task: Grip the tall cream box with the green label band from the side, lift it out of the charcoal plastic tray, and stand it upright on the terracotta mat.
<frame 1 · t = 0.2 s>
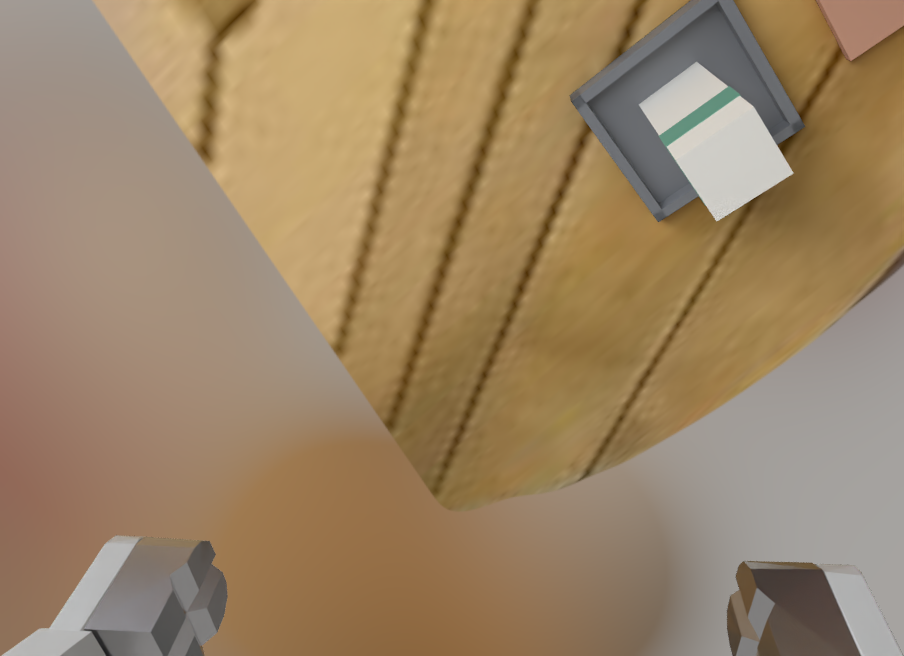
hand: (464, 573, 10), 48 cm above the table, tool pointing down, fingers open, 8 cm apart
labelled box: (683, 109, 51), point 1 cm above the table, touching parts tray
parts tray: (682, 107, 52), on the table
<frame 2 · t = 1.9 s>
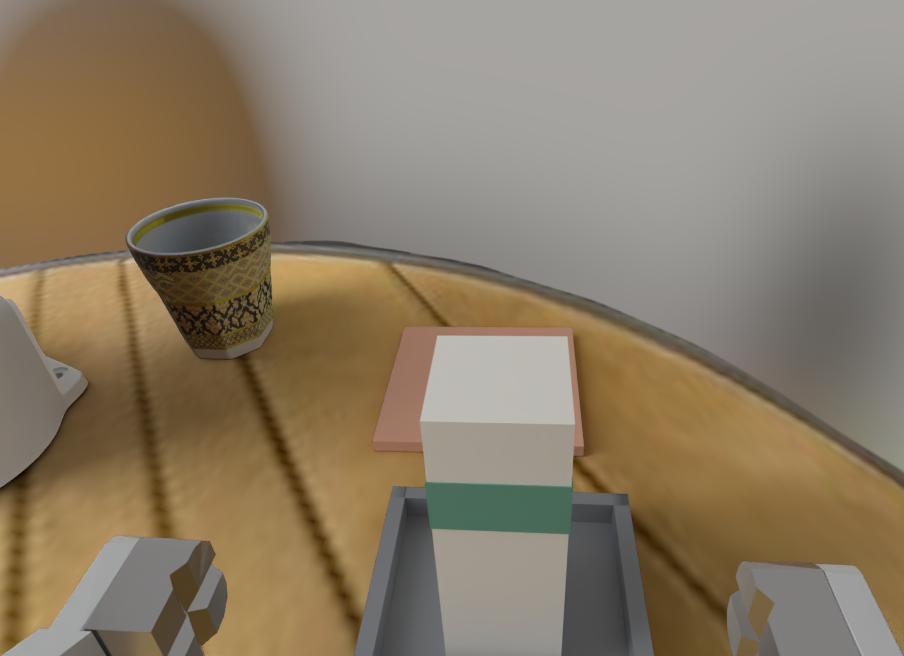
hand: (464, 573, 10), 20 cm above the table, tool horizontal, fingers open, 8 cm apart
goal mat: (482, 387, 46), on the table
labelled box: (504, 611, 31), point 1 cm above the table, touching parts tray
ceramic cup: (224, 331, 55), on the table
parts tray: (504, 619, 31), on the table
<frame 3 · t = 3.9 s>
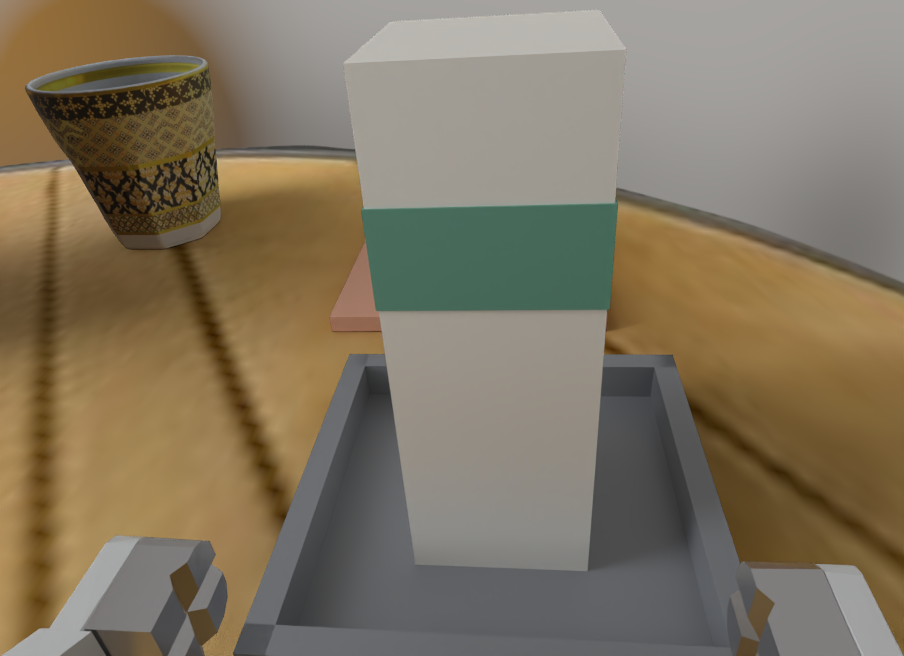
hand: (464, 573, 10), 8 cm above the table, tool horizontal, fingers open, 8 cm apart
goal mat: (474, 267, 36), on the table
labelled box: (502, 502, 21), point 1 cm above the table, touching parts tray
ceramic cup: (163, 225, 45), on the table
parts tray: (503, 515, 22), on the table
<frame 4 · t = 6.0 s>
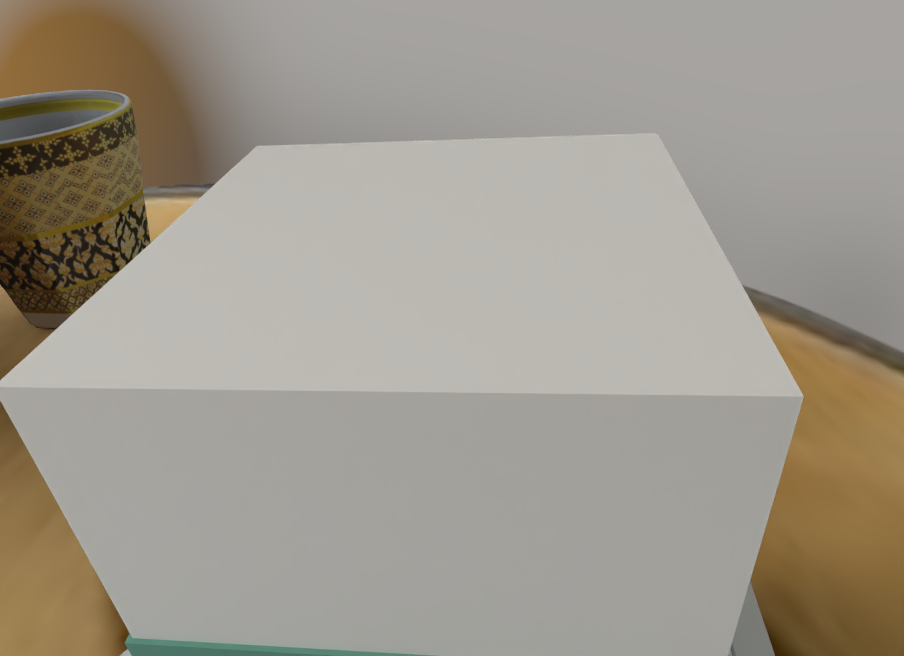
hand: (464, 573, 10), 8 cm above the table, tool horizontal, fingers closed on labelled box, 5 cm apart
ceramic cup: (88, 291, 38), on the table
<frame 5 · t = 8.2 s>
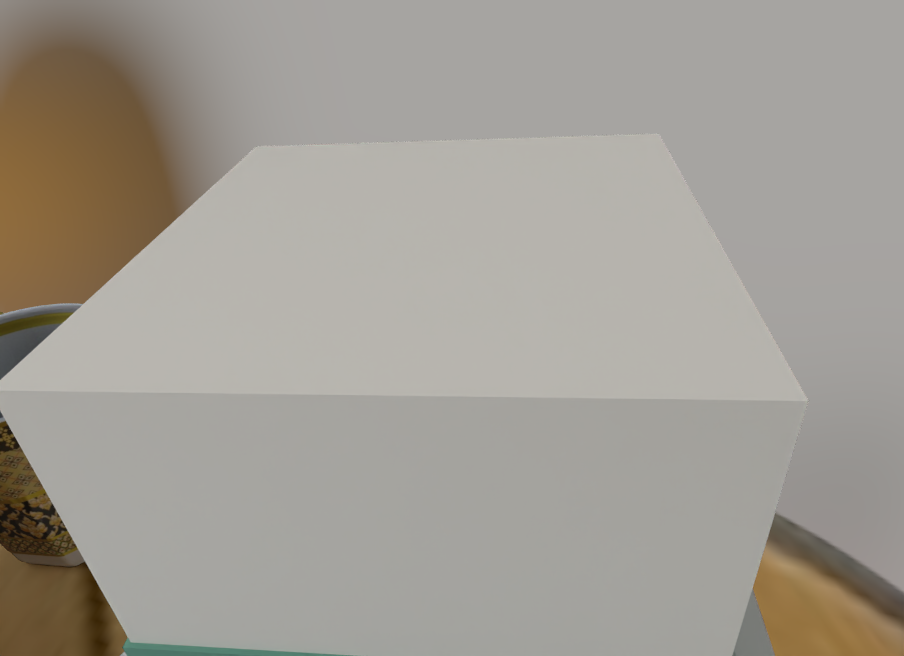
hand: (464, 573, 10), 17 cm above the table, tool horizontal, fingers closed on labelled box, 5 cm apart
ceramic cup: (81, 501, 35), on the table
when the fingers open (10 cm above the table, at t = 10.6 s): labelled box drops 1 cm, resting on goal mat.
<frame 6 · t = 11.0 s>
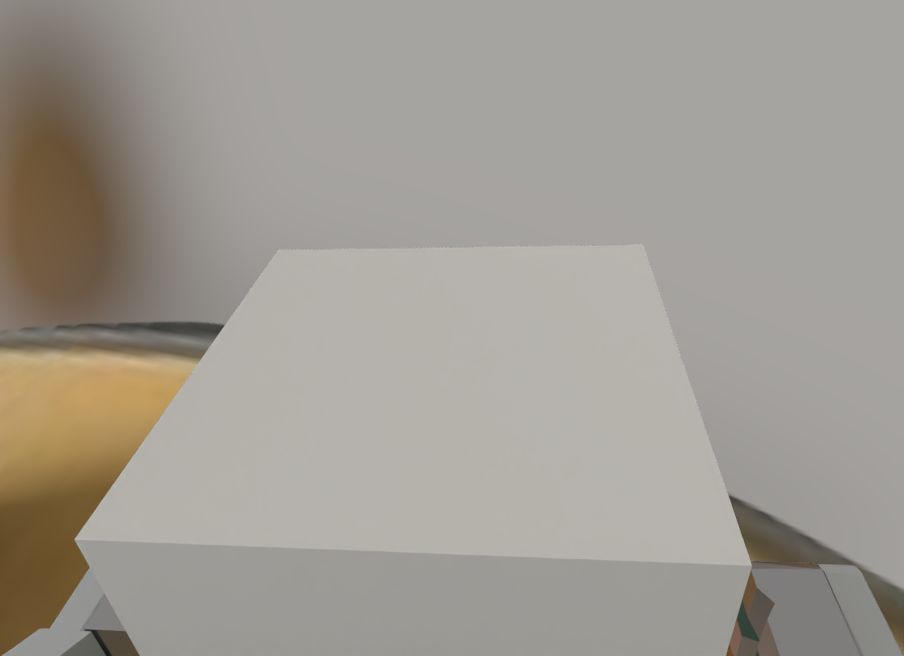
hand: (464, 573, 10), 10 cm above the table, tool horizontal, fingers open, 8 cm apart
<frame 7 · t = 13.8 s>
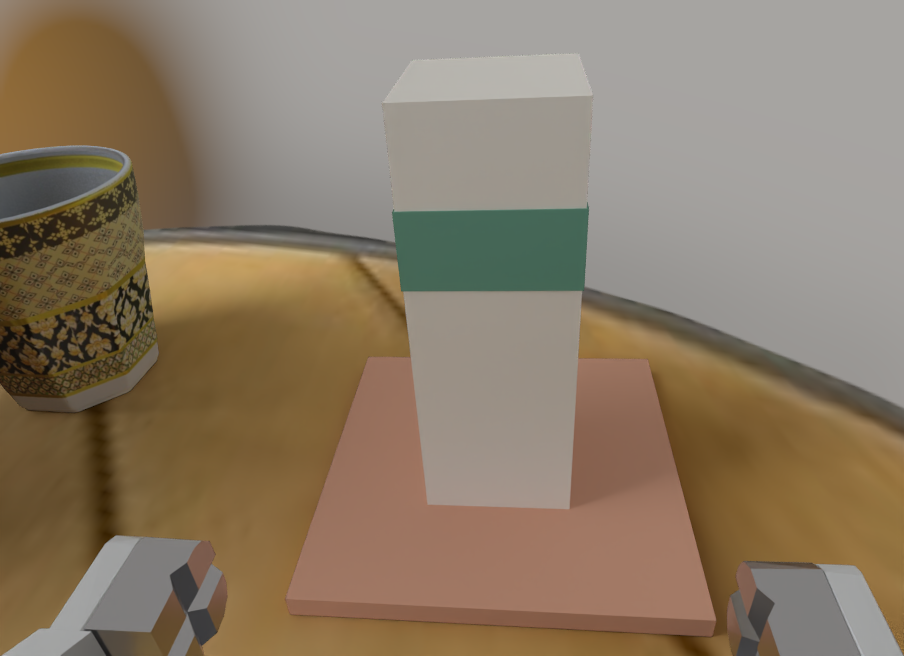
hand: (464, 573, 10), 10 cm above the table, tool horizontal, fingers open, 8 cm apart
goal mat: (500, 471, 26), on the table
labelled box: (500, 456, 25), point 1 cm above the table, touching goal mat
ceramic cup: (84, 361, 34), on the table
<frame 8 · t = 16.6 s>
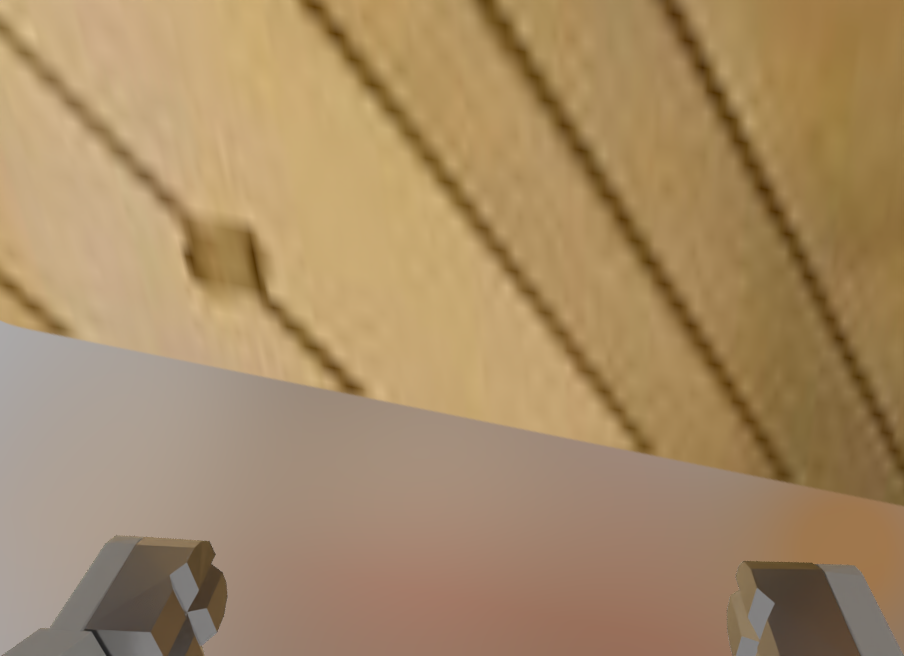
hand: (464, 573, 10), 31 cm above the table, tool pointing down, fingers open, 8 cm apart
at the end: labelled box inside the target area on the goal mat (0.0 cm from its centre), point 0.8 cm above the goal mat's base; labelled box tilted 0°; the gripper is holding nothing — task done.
